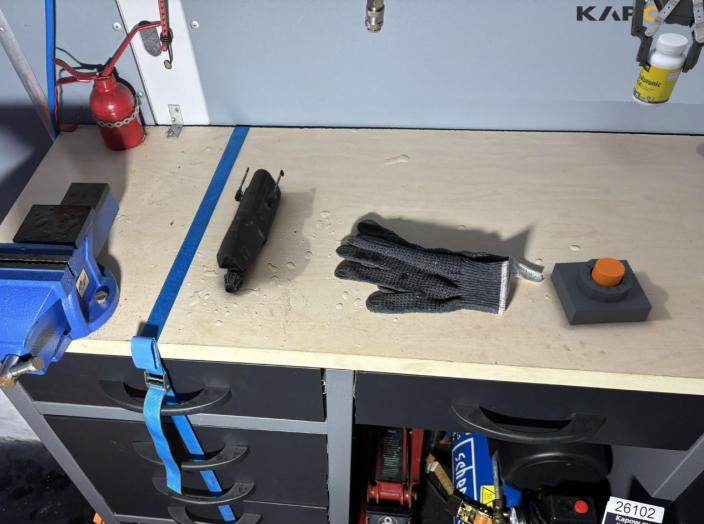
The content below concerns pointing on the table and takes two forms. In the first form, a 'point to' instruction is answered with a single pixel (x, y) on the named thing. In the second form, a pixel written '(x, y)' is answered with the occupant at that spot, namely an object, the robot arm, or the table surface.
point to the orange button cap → (608, 272)
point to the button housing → (598, 295)
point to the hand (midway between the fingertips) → (663, 67)
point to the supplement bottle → (661, 71)
